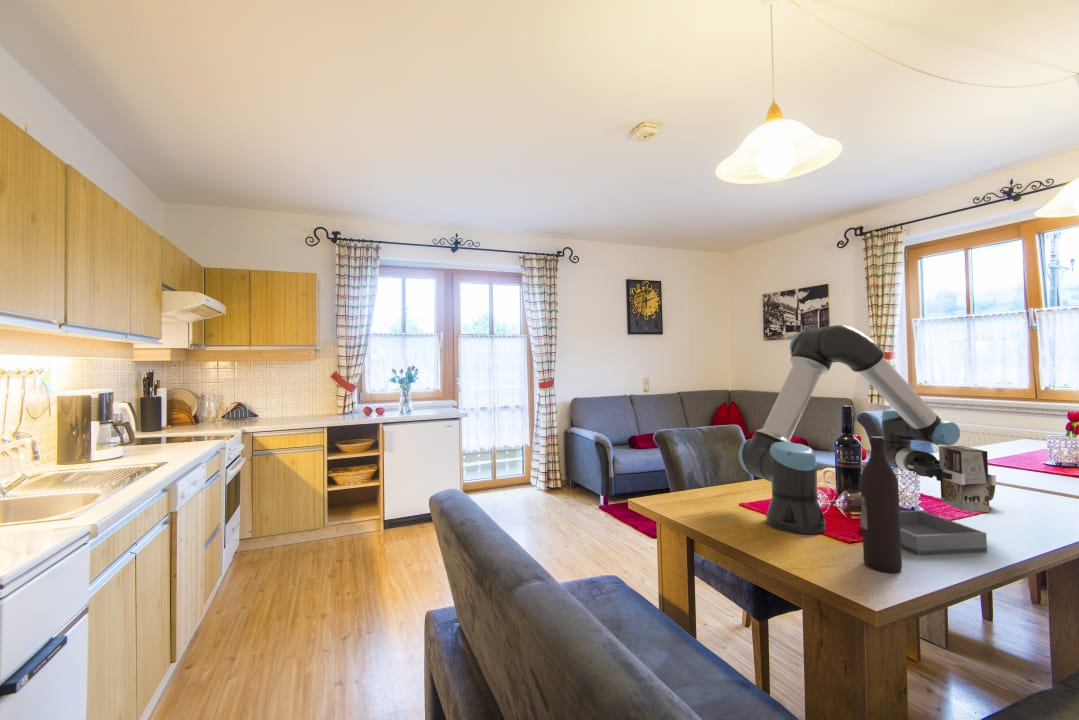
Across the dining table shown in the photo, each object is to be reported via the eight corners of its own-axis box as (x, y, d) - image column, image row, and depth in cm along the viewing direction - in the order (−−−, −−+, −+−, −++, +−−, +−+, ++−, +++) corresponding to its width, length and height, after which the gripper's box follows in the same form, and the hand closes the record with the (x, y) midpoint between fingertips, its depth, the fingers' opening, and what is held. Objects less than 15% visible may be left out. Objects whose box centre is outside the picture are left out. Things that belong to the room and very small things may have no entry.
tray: (917, 555, 109) (916, 536, 109) (860, 528, 127) (860, 512, 127) (987, 551, 110) (986, 533, 110) (921, 526, 128) (920, 510, 128)
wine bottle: (882, 559, 108) (877, 434, 108) (910, 572, 101) (904, 438, 101) (856, 561, 107) (851, 435, 107) (882, 575, 100) (876, 440, 100)
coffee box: (991, 512, 119) (989, 451, 119) (962, 511, 120) (960, 450, 120) (965, 502, 128) (963, 445, 128) (939, 501, 129) (937, 445, 129)
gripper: (951, 474, 140) (1020, 495, 118) (883, 473, 143) (938, 493, 120) (951, 450, 141) (1019, 466, 118) (883, 449, 143) (937, 465, 120)
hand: (978, 480), depth 119 cm, fingers closed on coffee box, 7 cm apart
